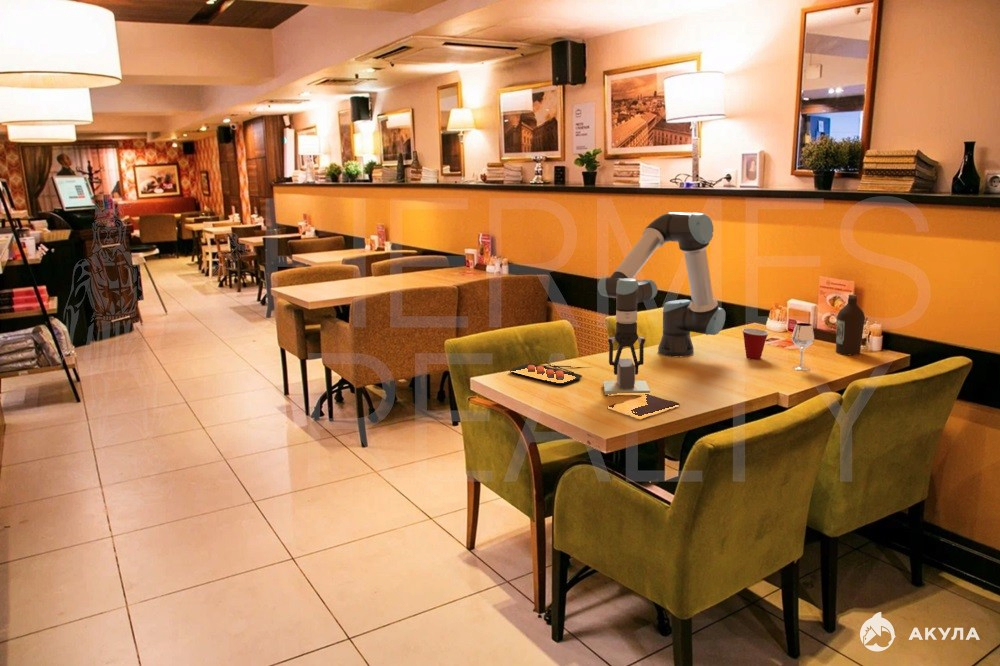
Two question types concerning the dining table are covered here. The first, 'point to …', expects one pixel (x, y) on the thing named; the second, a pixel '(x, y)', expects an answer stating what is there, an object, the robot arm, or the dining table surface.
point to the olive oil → (850, 328)
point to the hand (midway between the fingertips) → (625, 382)
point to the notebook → (652, 405)
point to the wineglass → (802, 340)
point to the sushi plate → (549, 371)
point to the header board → (614, 388)
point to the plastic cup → (754, 342)
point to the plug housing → (626, 373)
